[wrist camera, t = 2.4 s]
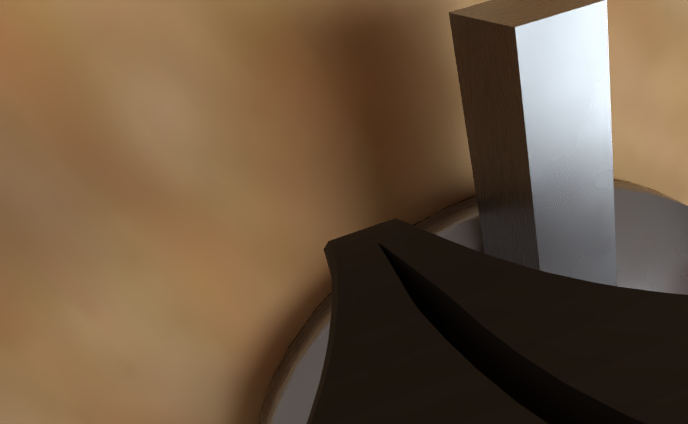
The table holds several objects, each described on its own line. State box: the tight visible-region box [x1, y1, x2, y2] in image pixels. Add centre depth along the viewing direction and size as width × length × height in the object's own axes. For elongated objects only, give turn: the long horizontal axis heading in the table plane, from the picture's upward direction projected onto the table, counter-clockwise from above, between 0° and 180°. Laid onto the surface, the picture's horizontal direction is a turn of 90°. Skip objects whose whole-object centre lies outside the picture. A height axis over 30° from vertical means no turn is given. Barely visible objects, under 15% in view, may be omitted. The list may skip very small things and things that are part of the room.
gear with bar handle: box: [449, 0, 617, 286], centre depth 16 cm, size 11×20×3 cm, turn 13°
